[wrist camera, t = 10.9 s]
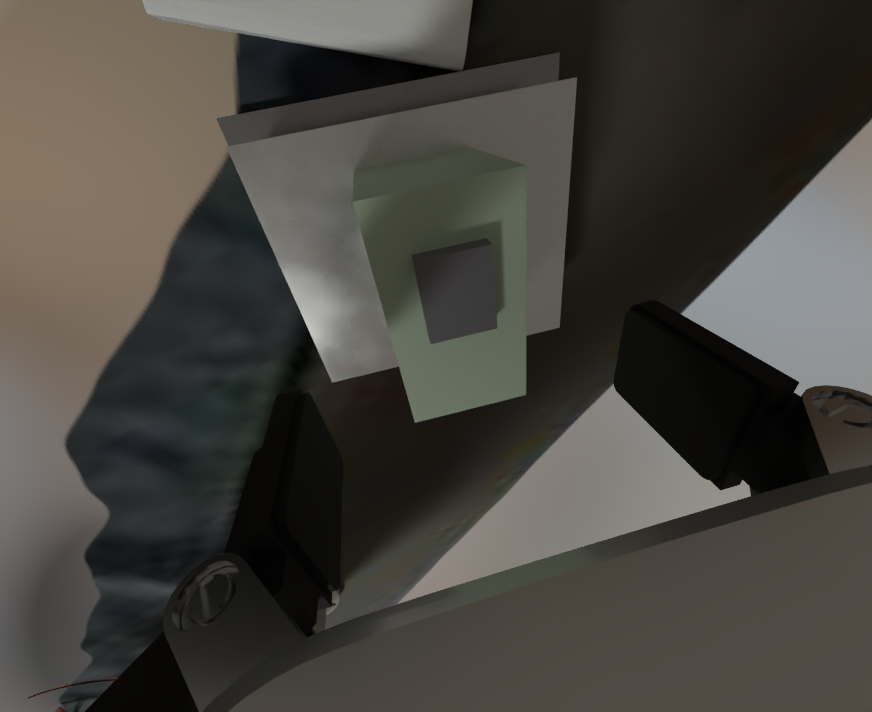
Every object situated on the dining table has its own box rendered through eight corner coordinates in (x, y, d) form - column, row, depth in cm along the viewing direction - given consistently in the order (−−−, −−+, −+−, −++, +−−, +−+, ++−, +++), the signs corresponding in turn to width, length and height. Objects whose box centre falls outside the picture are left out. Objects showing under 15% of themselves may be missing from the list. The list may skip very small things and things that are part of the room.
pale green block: (485, 326, 20) (531, 404, 15) (400, 346, 20) (416, 433, 14) (470, 147, 15) (535, 167, 9) (353, 171, 14) (352, 206, 9)
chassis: (545, 308, 25) (573, 337, 22) (326, 360, 24) (321, 398, 21) (555, 53, 16) (603, 39, 13) (219, 118, 16) (183, 120, 12)
